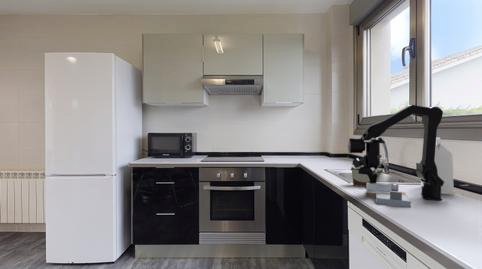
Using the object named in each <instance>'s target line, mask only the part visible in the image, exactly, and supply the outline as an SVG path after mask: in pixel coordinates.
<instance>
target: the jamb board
mask: <svg viewBox="0 0 482 269" xmlns="http://www.w3.org/2000/svg"><path fill="white" fill-rule="evenodd" d="M401 192H402V195H407V193H406V192H404V191H401ZM365 193H366V194H365V196H366V197H369V198H376V193H385V194H390V192H377V191H367V190H366V191H365Z"/></svg>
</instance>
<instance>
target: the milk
mask: <svg viewBox="0 0 482 269" xmlns="http://www.w3.org/2000/svg"><path fill="white" fill-rule="evenodd" d="M441 142H442V141H441V137H436V148H435V164H436V167H437V172H438V176H439V177H440V178H441V179H442V180H443V181H444V184H443V186H441V195H453V194H454V192H455V191H454V163H453V162H454V161H453V160H454V159H453V154H452V152H450V150H448V149H447V148H446V147H445V146H444V145H443V144H441ZM423 183H424V182H422V181H421V180H420V187H421V186H423Z"/></svg>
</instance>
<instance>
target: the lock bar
mask: <svg viewBox="0 0 482 269" xmlns="http://www.w3.org/2000/svg"><path fill="white" fill-rule="evenodd" d="M399 186H400V185H399V184H398V183H395V182H393V183H391V182H388V183H387V182H376V183H369V182H366V187H365V189H366V190H367V191H377V192H390V191H397V192H399Z"/></svg>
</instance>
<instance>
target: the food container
mask: <svg viewBox="0 0 482 269" xmlns="http://www.w3.org/2000/svg"><path fill="white" fill-rule="evenodd" d="M360 167H363V166H359V167H357V168H355V166H354V165H352V166H351V168H350V171H351V176H352V186H355V187H364V188H366V182H369V183H370V179H369V177H368V175H366V174H358V169H359V168H360Z"/></svg>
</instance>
